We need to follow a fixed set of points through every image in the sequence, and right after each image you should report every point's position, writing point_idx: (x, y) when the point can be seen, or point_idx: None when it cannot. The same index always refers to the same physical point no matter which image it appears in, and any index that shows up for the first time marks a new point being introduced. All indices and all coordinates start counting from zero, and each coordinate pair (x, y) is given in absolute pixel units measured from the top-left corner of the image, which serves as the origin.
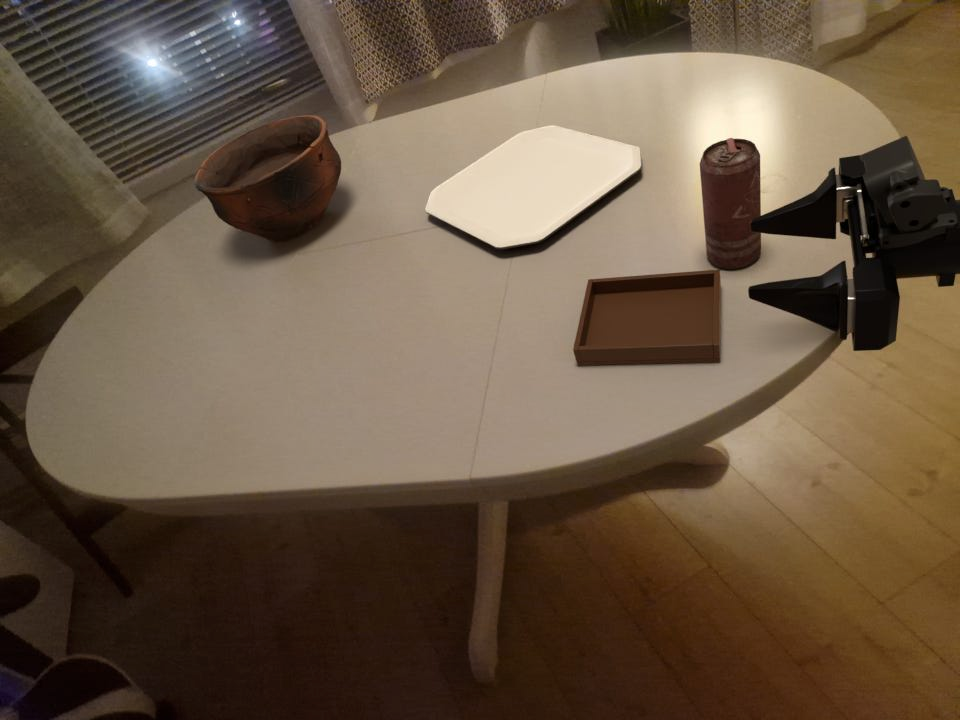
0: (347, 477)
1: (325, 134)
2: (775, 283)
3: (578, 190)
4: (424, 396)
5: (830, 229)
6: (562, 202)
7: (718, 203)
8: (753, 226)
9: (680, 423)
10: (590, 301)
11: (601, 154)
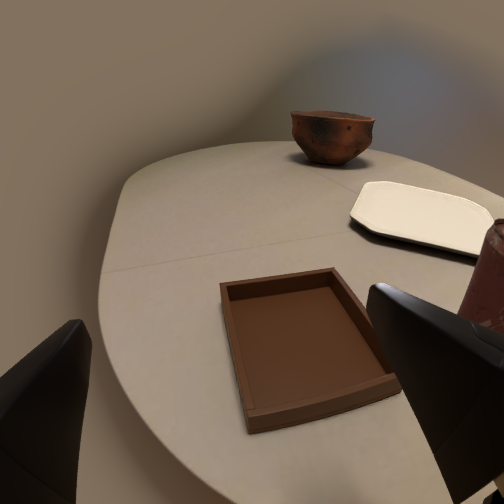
0: (114, 228)
1: (362, 122)
2: (45, 354)
3: (446, 236)
4: (180, 234)
5: (468, 481)
6: (427, 232)
7: (473, 292)
8: (369, 299)
9: (136, 405)
10: (307, 280)
11: None
